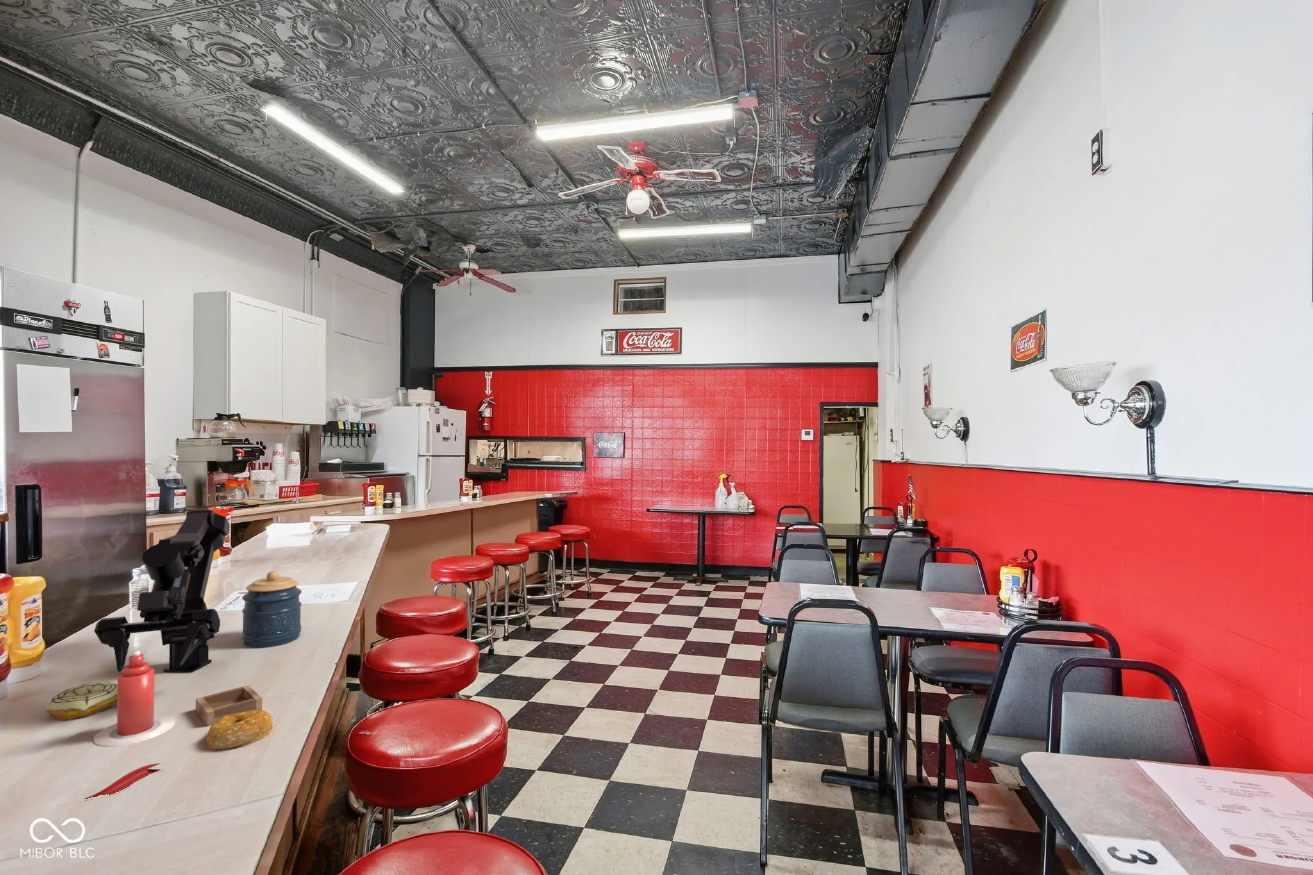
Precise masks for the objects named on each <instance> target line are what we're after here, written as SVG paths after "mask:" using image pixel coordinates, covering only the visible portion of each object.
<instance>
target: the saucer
mask: <svg viewBox="0 0 1313 875" xmlns="http://www.w3.org/2000/svg"><path fill="white" fill-rule="evenodd" d="M175 723H176V719H175V717H173V716H172V715H167V714H154V726H153V727H152V728H151V729H149V730H147V731H145V732H142V733H139V734H135V735H130V736H120V735H118V734H117V722H116V723H114V724H112V725H109V726H107V727H106V728H104V729H102V730H100V731H99V732H98V733H97V734H95V735H94V737H93V743H94V744H95V745H97V746H100V747H119V746H127V745H132V744H136V743H140V742H143V741H147V740H150V739H152V738H156V737H158V736H159V735H162V734H163V733H165V732H168V731H169V730H170V729H172V727H174V725H175Z"/></svg>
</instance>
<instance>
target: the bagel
mask: <svg viewBox="0 0 1313 875" xmlns="http://www.w3.org/2000/svg"><path fill="white" fill-rule="evenodd" d="M273 722H274V721H273V717H272V715H271V713H269V712H267V711H266V710H264V709H262V711H256V710H250V711H248V712H242V713H237V714H231V715H226V716H223V717H222V718H221V719H220V720H219V721H218V722H217V723H216V724H213V725H211V726H209V727H210V728H209V730H208V732H207V735H206V738H205V742H206V745H207V746H208V747H209V748H210V750H225V749H226V750H227V749H233V748H239V747H240V748H242V747H244V746H248V745H252V744H254V743H256V742H258V741H260V740H262V739H263V738H264V739H265V737H267V736H269V735H270V734H271V732H272V730H273V729H274V725H273Z"/></svg>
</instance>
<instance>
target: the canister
mask: <svg viewBox="0 0 1313 875" xmlns="http://www.w3.org/2000/svg"><path fill="white" fill-rule="evenodd" d="M298 584H299V582H298V581H297V580H295V579H293V578H292V577H289V576H280V575H279V573H278V572H277V571H276V570H275V571H273V570H272V571H269V572H268V573H267V574H266V577H264V578H260V579H257V580H254V581H253V582H252V583H250V584H248V585H247V586H246V587H245V588H246V591H247V592H246V593H245V594H243V596H241V600H242V601H244V607H243V608H242V610H241V613H242V634H241V640H242V644H243V645H244V646H246V647H249V648H268V647H275V646H280V645H284V644H287V643H291V642H293V641H295V640H298V638H299V637H300V635H301V632H302V625H301V617H302V616H301V607H302V602H301V601H300V595H301V594H302V593H303V592H302V591H303V590H301V588H299V587H297V585H298Z"/></svg>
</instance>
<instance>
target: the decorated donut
mask: <svg viewBox="0 0 1313 875" xmlns="http://www.w3.org/2000/svg"><path fill="white" fill-rule="evenodd" d="M115 704H117V682H110V681H108V682H106V681H105V682H93V683H92V682H91V683H83V684H79V685H76V686H73V687H69V688H67V689H64V690H63V691H61V692H59V693H57V694H55V695H54V696H53V697H51V699H50V700H48V702H47V703H46V704H45V706H44V709H43V710H44V712H45V713H47V714H48V715H49V716H50V717H51V718H53V719H54V720H58V719H59V720H60V721H69V720H68V719H70V720H76V719H78V718H79V717H80V718H83V717H84V718H85V717H88V716H92V715H96V714H98V713H99V712H103V711H105V710H107V709H108V708H111V707H112V706H114V705H115ZM97 712H98V713H97ZM95 713H96V714H95ZM91 714H92V715H91ZM75 718H76V719H75ZM80 718H79V719H80ZM59 720H58V721H59Z"/></svg>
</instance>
